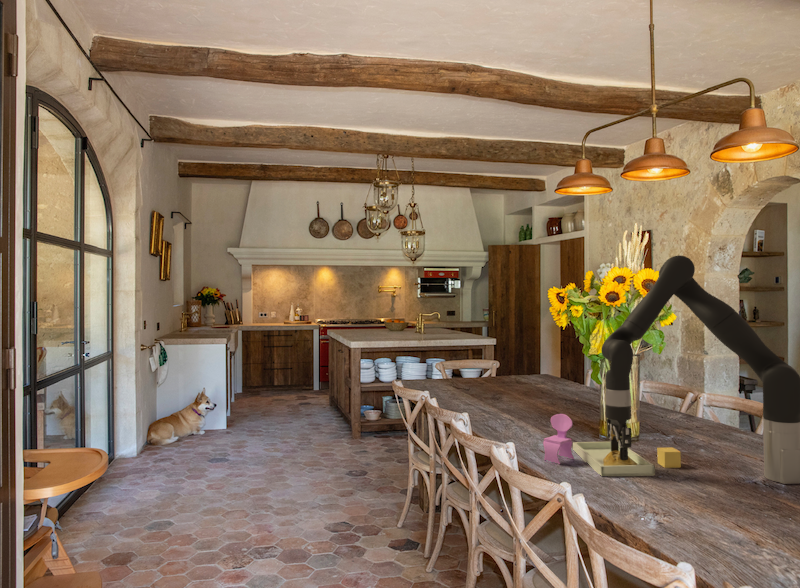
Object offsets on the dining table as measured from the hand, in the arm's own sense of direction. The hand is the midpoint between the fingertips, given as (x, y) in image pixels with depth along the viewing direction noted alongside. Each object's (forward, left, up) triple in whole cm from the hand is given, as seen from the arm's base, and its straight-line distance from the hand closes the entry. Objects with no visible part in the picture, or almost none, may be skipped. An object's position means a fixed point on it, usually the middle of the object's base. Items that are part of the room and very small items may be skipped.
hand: (619, 456), depth 175 cm
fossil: (-1, 0, -3) cm, 3 cm away
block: (+3, -17, -4) cm, 18 cm away
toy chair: (+10, +16, -4) cm, 19 cm away
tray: (+7, 0, -4) cm, 8 cm away
